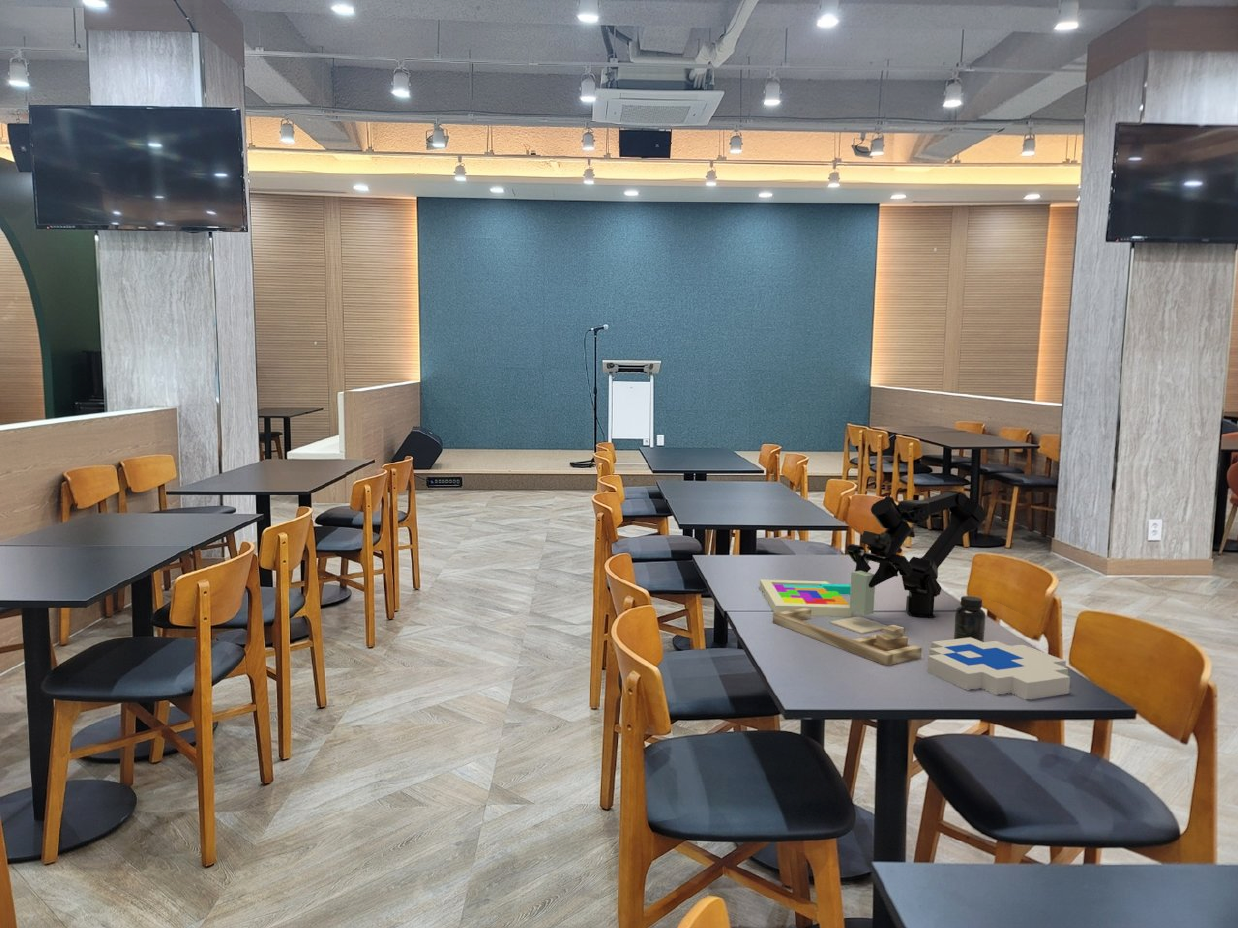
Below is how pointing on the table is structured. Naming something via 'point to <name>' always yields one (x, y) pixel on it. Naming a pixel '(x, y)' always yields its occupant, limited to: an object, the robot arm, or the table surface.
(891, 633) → the offcut maple
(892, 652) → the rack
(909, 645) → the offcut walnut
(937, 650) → the pixel art tile
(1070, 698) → the table surface
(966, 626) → the supplement bottle
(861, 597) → the tall green pillar
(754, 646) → the table surface
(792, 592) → the puzzle game
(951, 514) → the robot arm
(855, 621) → the mat
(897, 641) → the offcut oak
